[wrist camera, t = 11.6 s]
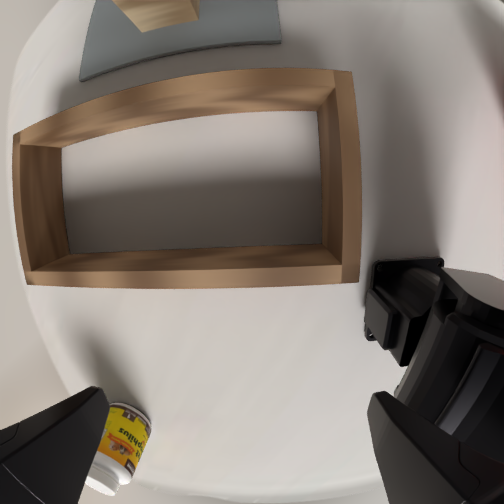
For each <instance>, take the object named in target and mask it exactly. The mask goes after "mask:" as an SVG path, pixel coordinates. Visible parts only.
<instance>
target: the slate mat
mask: <svg viewBox="0 0 504 504" xmlns="http://www.w3.org/2000/svg"><path fill="white" fill-rule="evenodd" d="M248 44H281V32H280V23H279V15H278V8H277V0H200V3H199V20H197V21H191V22H185V23H180V24H175V25H171V26H166V27H162V28H158V29H154V30H150V31H146V32H143V33H142V32H141V31H140V30H139V29H138V28H137V27H136V25H135V24H134V23H133V22H132V21H131V20H130V19H129V18H128V17H127V16H126V15H125V14H124V13H123V11H122V10H121V9H120V8H119V7H118V6H117V5H116V4H115V3H114V2H113V1H112V0H96V2H95V5H94V8H93V12H92V15H91V19H90V23H89V27H88V31H87V36H86V41H85V45H84V51H83V56H82V62H81V68H80V75H79V81H82V82H83V81H85V80H88V79H90V78H93V77H96V76H98V75H101V74H104V73H107V72H110V71H113V70H116V69H119V68H122V67H125V66H129V65H132V64H135V63H139V62H143V61H147V60H150V59H155V58H159V57H163V56H168V55H172V54H177V53H183V52H188V51H194V50H201V49H208V48H215V47H224V46H235V45H248Z"/></svg>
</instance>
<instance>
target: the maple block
mask: <svg viewBox="0 0 504 504" xmlns="http://www.w3.org/2000/svg"><path fill="white" fill-rule="evenodd" d="M112 1H113V2H114V3H115V4H116V5H117V6H118V7H119V8H120V9H121V10H122V11H123V13H124V14H125V15H126V16H127V17H128V18H129V19H130V20H131V21H132V22H133V23H134V24H135V25H136V27H137V28H138V29H139V30H140V31H141V32H142V33H143V32H146V31H150V30H154V29H158V28H162V27H166V26H171V25H175V24H180V23H185V22H191V21H197V20H199V3H200V0H112Z"/></svg>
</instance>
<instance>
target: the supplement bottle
mask: <svg viewBox="0 0 504 504" xmlns="http://www.w3.org/2000/svg"><path fill="white" fill-rule="evenodd" d="M150 433H151V425H150V422H149V421H148V419H147V418H146V417H145V416H144V415H143V414H142V413H141V412H140V411H138V410H137V409H135V408H133V407H132V406H129V405H127V404H124V403H111V404H110V411H109V414H108V418H107V421H106V425H105V428H104V432H103V435H102V439H101V442H100V445H99V447H98V450H97V452H96V455H95V457H94V460H93V463H92V465H91V468H90V470H89V473H88V476H87V478H86V481H85V484H87V485H88V486H90V487H91V488H93V489H95V490H97V491H99V492H101V493H103V494H106V495H110V496H114V495H115V494H116V492H117V490H118V488H119V485H120V484H127V483H129V482H130V481H131V479H132V476H133V474H134V472H135V469H136V467H137V464H138V462H139V460H140V457H141V455H142V452H143V450H144V448H145V445H146V443H147V441H148V438H149V436H150Z"/></svg>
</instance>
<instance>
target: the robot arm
mask: <svg viewBox="0 0 504 504" xmlns="http://www.w3.org/2000/svg"><path fill="white" fill-rule="evenodd" d="M438 262H439V265H438V266H437V264H438ZM379 265H381V266H382V267H381V269H380V270H378V269H377V268H378V266H379ZM364 322H365V323H366V329H365V337H366V339H367V340H368V341H376V340H377V341H378V343H379V344H380V346H381V347H382V348H383V349H384V350H389V351H390V352H391V354H392V355H393V357H394V358H395V360H396V361H397V363H398V364H399V366H400V367H404V366H408V368H407V370H406V372H405V374H404V376H403V378H402V380H401V382H400V384H399V385H398V386H397V387H396V389H395V391H394V397H393V396H392V395H390V394H389V393H388V392H386V391H381V392H376V393H373V395H372V397H371V400H370V404H369V407H368V411H367V416H368V421H369V426H370V432H371V437H372V443H373V448H374V453H375V457H376V460H377V463H378V466H379V470H380V473H381V476H382V480H383V483H384V487H385V490H386V493H387V497H388V501H389V504H504V281H503V280H500V279H498V278H496V277H494V276H491V275H489V274H484V273H477V272H470V271H464V270H457V269H451V268H444V260H443V259H442V258H441V257H423V258H405V259H386V260H377V261H375V262H374V264H373V266H372V277H371V288H370V289H369V290H368V292H367V300H366V309H365V317H364ZM371 333H372V334H373V335H371V336H369V335H370V334H371ZM109 411H110V404H109V402H108V400H107V397H106V395H105V393H104V391H103V389H102V388H99V387H95V386H91V387H88V388H87V389H85V390H83V391H81V392H79V393H77V394H75V395H73V396H71V397H69V398H67V399H65V400H63V401H61V402H60V403H57V404H55V405H53V406H51V407H49V408H47V409H45V410H43V411H41V412H39V413H37V414H35V415H33V416H31V417H29V418H27V419H25V420H22V421H21V422H20V423H19V422H18V423H16V424H14V425H12V426H9V427H7V428H5V429H2V430H0V504H78V501H79V498H80V495H81V492H82V489H83V486H84V484H85V481H86V478H87V476H88V473H89V470H90V468H91V465H92V463H93V460H94V457H95V455H96V452H97V450H98V447H99V445H100V442H101V439H102V435H103V432H104V428H105V425H106V421H107V418H108V414H109Z"/></svg>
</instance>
